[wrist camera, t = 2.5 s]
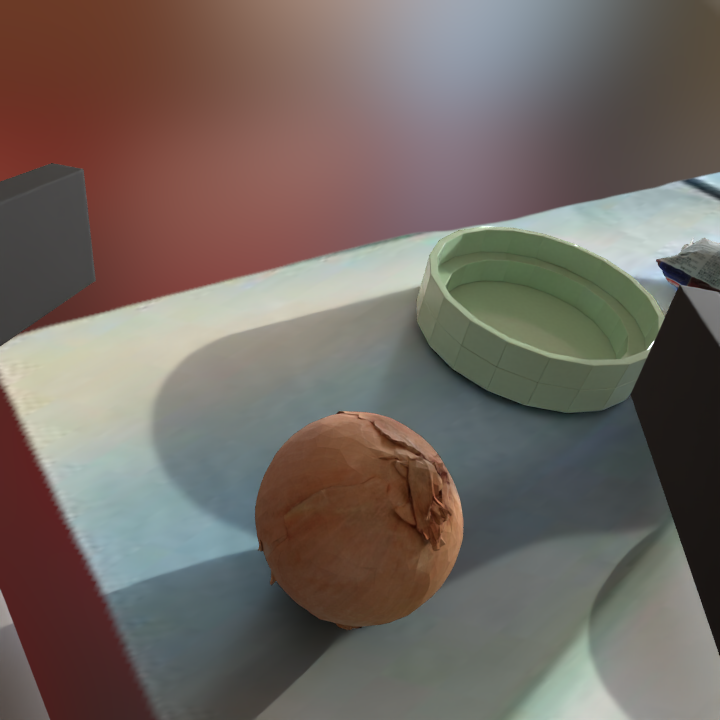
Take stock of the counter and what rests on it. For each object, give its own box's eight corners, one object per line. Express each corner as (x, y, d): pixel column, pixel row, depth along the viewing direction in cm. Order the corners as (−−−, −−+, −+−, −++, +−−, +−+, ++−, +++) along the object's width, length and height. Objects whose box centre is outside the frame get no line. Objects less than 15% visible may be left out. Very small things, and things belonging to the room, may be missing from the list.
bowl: (416, 393, 42) (434, 336, 38) (413, 260, 56) (427, 210, 53) (667, 437, 43) (705, 385, 40) (602, 296, 57) (627, 249, 54)
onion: (403, 613, 32) (547, 558, 26) (251, 678, 26) (390, 627, 20) (343, 451, 36) (456, 366, 29) (197, 473, 30) (299, 373, 23)
